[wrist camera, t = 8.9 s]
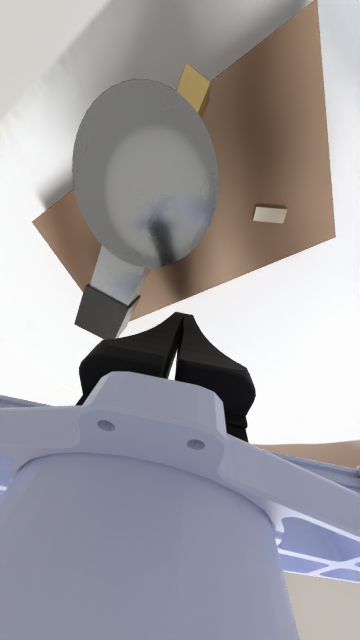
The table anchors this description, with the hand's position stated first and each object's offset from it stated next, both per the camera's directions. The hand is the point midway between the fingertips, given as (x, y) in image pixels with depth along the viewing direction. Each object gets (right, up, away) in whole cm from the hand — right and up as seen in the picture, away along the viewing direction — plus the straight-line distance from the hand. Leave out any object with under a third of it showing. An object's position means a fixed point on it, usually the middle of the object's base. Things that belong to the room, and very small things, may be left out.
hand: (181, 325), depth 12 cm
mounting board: (0, +7, +1) cm, 7 cm away
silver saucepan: (-2, +5, -1) cm, 6 cm away
